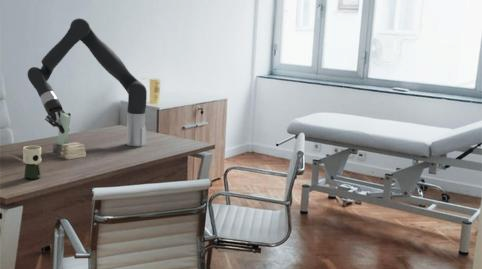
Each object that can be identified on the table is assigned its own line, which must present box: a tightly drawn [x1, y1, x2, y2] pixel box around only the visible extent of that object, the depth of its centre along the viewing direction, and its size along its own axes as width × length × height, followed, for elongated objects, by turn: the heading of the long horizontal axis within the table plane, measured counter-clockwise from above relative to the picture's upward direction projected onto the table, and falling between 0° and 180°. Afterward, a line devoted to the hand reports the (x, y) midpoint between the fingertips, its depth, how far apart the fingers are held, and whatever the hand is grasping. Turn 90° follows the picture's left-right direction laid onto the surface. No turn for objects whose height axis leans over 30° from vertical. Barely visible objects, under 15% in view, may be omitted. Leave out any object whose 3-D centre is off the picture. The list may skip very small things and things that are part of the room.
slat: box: [57, 112, 71, 146], centre depth 279 cm, size 5×2×18 cm, turn 50°
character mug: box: [22, 145, 42, 180], centre depth 241 cm, size 11×7×13 cm, turn 162°
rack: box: [45, 141, 88, 161], centre depth 278 cm, size 18×12×7 cm, turn 50°
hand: (65, 132), depth 277 cm, fingers closed on slat, 1 cm apart
